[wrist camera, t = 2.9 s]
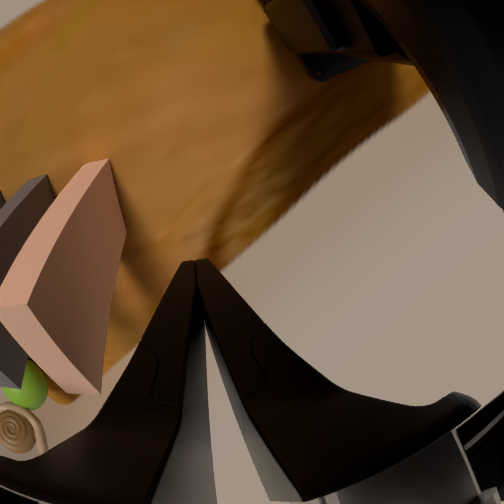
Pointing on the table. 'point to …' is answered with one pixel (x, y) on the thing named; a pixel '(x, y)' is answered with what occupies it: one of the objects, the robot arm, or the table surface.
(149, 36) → the table surface
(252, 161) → the table surface
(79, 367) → the domino
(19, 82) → the table surface
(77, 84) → the table surface
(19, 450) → the snail figurine
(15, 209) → the domino
